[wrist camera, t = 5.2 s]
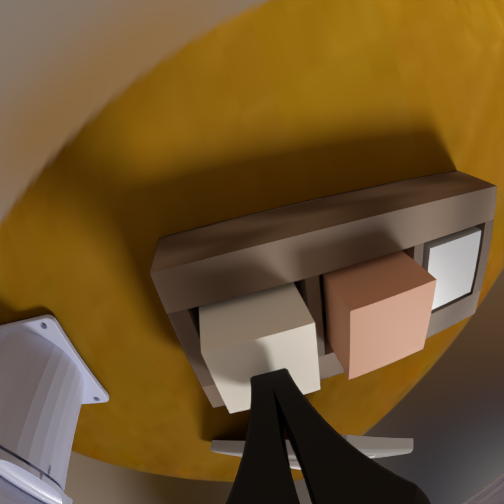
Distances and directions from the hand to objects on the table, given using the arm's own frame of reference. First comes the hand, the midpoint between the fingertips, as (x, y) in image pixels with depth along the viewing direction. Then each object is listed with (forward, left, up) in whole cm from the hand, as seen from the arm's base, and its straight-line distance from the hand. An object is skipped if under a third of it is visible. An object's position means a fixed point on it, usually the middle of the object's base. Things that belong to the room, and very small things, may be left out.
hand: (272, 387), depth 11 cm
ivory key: (0, 0, -4) cm, 4 cm away
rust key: (+6, 0, -4) cm, 7 cm away
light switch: (+1, -13, -7) cm, 15 cm away
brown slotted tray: (+6, 0, -6) cm, 9 cm away
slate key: (+11, 0, -6) cm, 13 cm away
